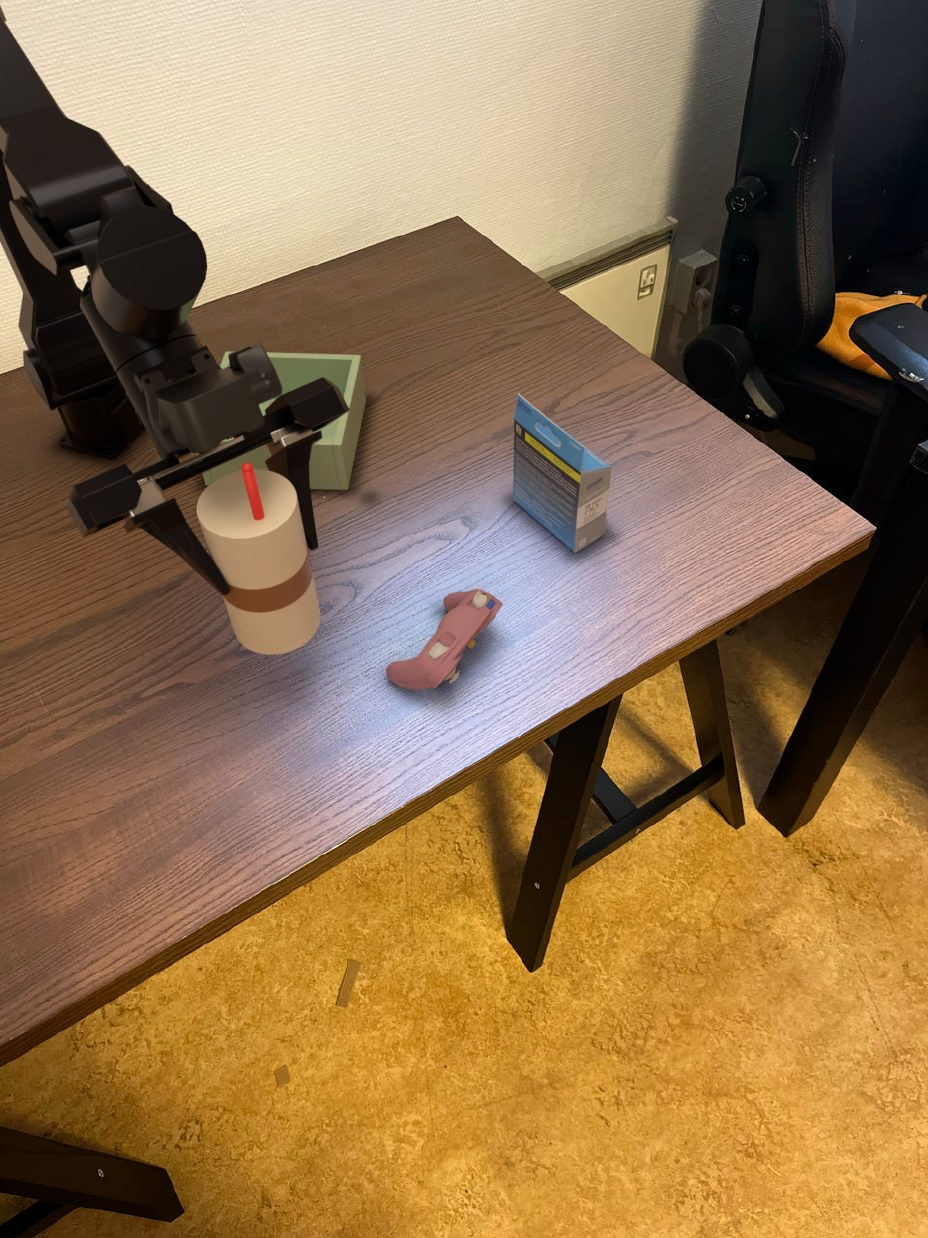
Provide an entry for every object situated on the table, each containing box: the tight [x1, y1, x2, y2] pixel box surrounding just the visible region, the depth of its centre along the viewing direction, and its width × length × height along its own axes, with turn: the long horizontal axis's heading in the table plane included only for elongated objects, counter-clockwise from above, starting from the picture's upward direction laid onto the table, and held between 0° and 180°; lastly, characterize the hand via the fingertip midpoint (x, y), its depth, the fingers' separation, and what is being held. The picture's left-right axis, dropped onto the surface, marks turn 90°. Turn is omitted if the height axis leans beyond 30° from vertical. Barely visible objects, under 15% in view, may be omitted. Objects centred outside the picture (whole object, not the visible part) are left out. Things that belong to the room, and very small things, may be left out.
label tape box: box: [512, 392, 612, 554], centre depth 81 cm, size 9×4×12 cm, turn 37°
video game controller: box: [386, 588, 504, 691], centre depth 74 cm, size 10×5×7 cm, turn 148°
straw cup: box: [196, 463, 322, 656], centre depth 63 cm, size 6×6×16 cm
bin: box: [195, 351, 367, 491], centre depth 91 cm, size 14×14×6 cm
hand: (271, 571), depth 64 cm, fingers closed on straw cup, 6 cm apart
